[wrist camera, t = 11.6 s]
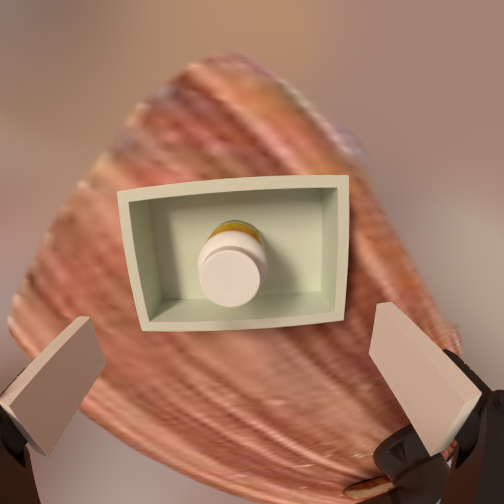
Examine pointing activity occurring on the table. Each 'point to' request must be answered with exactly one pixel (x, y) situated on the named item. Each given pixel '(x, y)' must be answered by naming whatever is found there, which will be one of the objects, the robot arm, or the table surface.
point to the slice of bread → (368, 488)
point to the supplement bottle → (232, 264)
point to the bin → (274, 238)
